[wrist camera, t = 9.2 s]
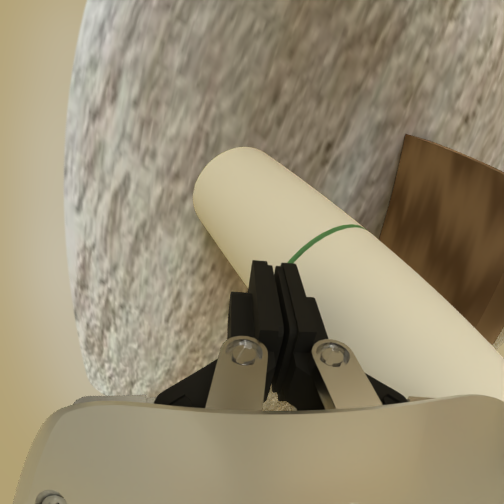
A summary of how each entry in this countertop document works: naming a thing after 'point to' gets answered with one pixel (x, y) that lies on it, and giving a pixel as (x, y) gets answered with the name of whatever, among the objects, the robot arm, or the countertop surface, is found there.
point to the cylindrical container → (345, 278)
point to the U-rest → (451, 229)
